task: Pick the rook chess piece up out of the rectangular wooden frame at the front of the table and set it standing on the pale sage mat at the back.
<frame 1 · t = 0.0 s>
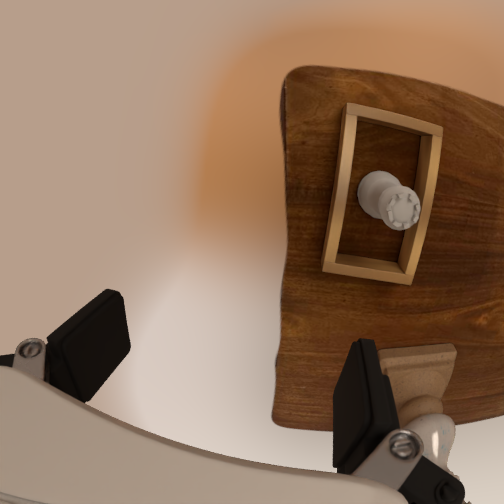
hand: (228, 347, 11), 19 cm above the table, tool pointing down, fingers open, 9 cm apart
rectangular wooden frame: (378, 193, 25), on the table
candle holder: (407, 376, 32), on the table
rook chess piece: (378, 193, 25), resting in rectangular wooden frame
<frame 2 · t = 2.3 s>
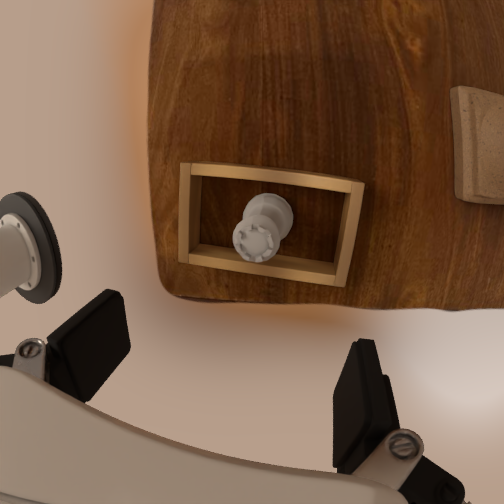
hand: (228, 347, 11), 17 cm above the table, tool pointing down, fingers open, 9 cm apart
rectangular wooden frame: (269, 216, 26), on the table
candle holder: (493, 147, 19), on the table
rook chess piece: (269, 216, 26), resting in rectangular wooden frame
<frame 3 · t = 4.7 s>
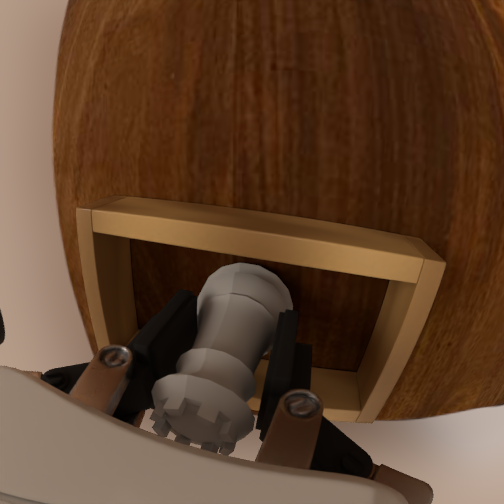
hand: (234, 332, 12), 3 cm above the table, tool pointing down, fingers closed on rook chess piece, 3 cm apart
rectangular wooden frame: (247, 301, 14), on the table
rook chess piece: (248, 299, 14), resting in rectangular wooden frame, touching gripper
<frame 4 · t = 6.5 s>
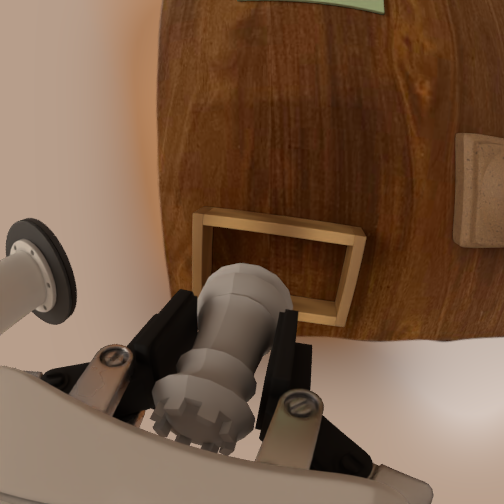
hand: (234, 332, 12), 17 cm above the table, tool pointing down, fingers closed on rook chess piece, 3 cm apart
rectangular wooden frame: (276, 260, 28), on the table
candle holder: (494, 190, 21), on the table
rook chess piece: (248, 299, 14), point 14 cm above the table, touching gripper
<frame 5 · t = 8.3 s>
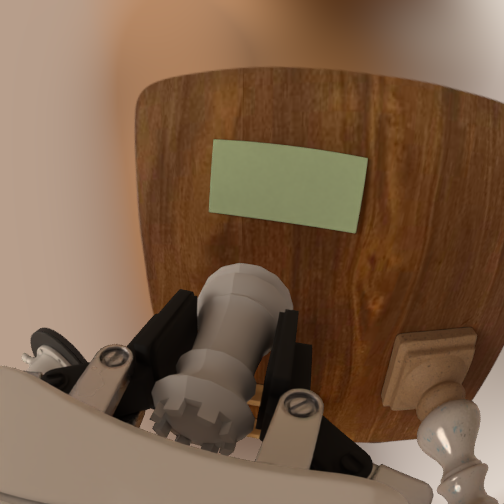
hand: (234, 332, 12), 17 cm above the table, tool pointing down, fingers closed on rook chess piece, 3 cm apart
candle holder: (426, 364, 30), on the table
mat: (286, 183, 26), on the table
rook chess piece: (248, 299, 14), point 14 cm above the table, touching gripper
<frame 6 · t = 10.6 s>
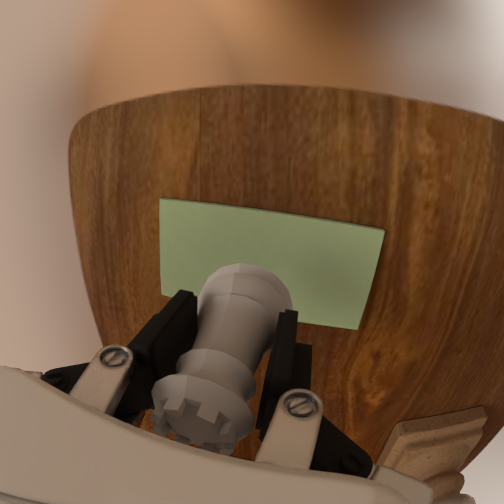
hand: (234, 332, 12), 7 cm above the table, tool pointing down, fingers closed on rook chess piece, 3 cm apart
candle holder: (427, 441, 22), on the table
mat: (263, 264, 18), on the table
rook chess piece: (248, 299, 14), point 5 cm above the table, touching gripper
when the fingers open (3 cm above the table, at t = 11.9 s): rook chess piece stays where it is, resting on mat.
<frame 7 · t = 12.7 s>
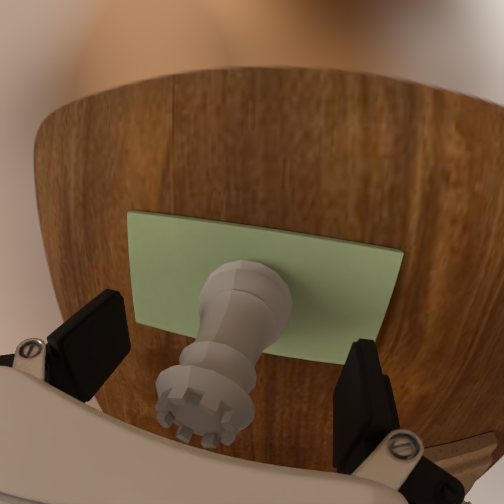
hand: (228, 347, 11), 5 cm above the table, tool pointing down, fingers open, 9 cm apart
candle holder: (432, 467, 19), on the table
mat: (252, 291, 15), on the table
rook chess piece: (249, 296, 15), resting on mat
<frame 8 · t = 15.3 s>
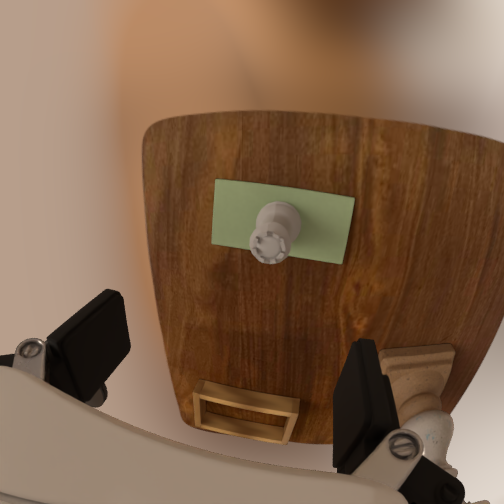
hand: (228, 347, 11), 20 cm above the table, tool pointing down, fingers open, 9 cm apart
rectangular wooden frame: (246, 408, 40), on the table
candle holder: (408, 375, 33), on the table
mat: (280, 220, 29), on the table
rook chess piece: (279, 221, 29), resting on mat
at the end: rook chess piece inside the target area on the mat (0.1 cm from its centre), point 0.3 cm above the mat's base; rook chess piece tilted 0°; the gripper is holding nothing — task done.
